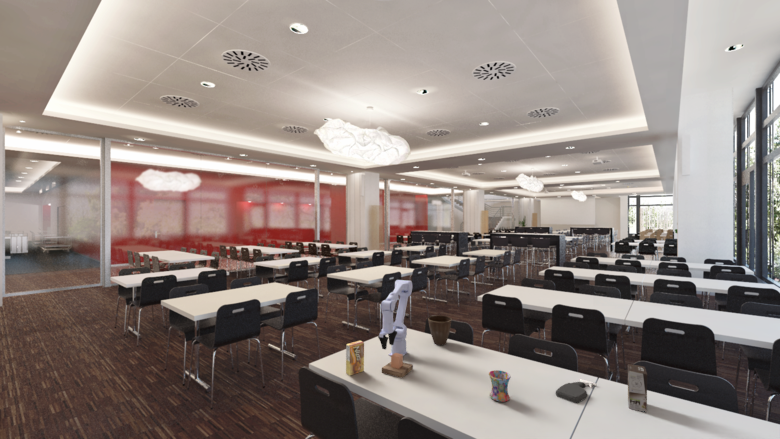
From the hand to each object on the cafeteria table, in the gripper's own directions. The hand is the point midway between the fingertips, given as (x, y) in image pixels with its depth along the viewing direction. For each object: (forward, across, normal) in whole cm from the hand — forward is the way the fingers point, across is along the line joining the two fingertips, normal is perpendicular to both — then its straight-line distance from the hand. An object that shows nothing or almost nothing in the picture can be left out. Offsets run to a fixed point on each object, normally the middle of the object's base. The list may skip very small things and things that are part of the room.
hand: (387, 346), depth 193 cm
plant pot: (+10, -44, +12) cm, 47 cm away
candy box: (+10, +18, -9) cm, 22 cm away
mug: (+10, +4, +62) cm, 63 cm away
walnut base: (+10, +5, +9) cm, 14 cm away
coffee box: (+10, -19, +114) cm, 116 cm away
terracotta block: (+7, +5, +9) cm, 12 cm away
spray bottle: (+10, -20, +91) cm, 94 cm away
